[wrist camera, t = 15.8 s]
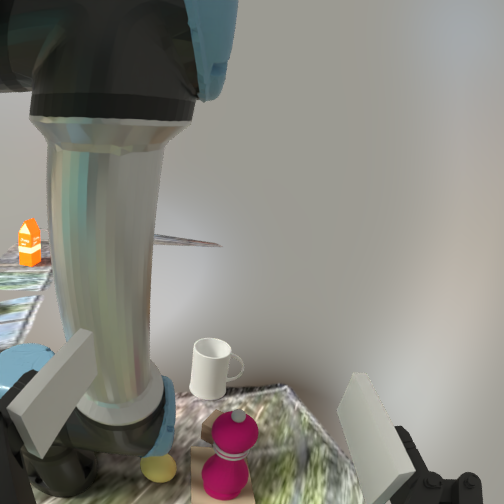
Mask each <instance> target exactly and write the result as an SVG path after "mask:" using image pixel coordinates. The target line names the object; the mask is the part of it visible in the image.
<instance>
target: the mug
mask: <svg viewBox="0 0 504 504" xmlns="http://www.w3.org/2000/svg"><path fill="white" fill-rule="evenodd" d="M230 358H234V359H237V360H238V361H240V363H241V364H242V370H241V372H240V373H239V374H238V375H237V376H235V377H231V378H228V377H227V375H228V369H229V363H230ZM243 372H244V363H243V361H242V359H241V358H240V357H238V356H237V355H235V354H233V353H231V347H230V346H229V344H227V343H226V342H224V341H222V340H220V339H216V338H203V339H200V340H198V341H196V342H195V344H194V349H193V361H192V374H191V382H190V387H189V388H190V391H191V392H192V394H193V395H195V396H196V397H198V398H200V399H203V400H217V399H220V398H221V397H223V396H224V395H225V393H226V382H231V381H234V380H236V379H238V378H239V377H240V376H241V375H242V374H243Z"/></svg>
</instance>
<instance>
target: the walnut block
mask: <svg viewBox="0 0 504 504" xmlns="http://www.w3.org/2000/svg"><path fill="white" fill-rule="evenodd" d="M221 414H223V412H221V411H219V410H217V409H216V410H215V411H214V412H213V413H212V414H211V415H210V416H209V417H208V418H207V419H206V420H205V421H204V422H203V423H202V431H201V439H202V440H204V441H206V442H208V443H210V444H212V445H213V443H214V440H213V438H212V434H211V430H212V426H213V423H214V421H215V420H216V419H217V418H218V416H220V415H221Z"/></svg>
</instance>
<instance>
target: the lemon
mask: <svg viewBox="0 0 504 504" xmlns="http://www.w3.org/2000/svg"><path fill="white" fill-rule="evenodd" d="M140 468H141V471H142V473H143V474H144V475H145V477H147V478H148V479H149V480H151V481H153V482H157V483H164V482H167V481H170V480H171V479H172V478H173V477H174V476H175V474H176V470H177V467H176V463H175V461H174V459H173V458H172V457H171V456H170V455H169V454H168V453H167V454H166V455H164V456H149V457H147V458H146V457H145V458H142V459H141V462H140Z"/></svg>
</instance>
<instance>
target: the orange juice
mask: <svg viewBox="0 0 504 504" xmlns="http://www.w3.org/2000/svg"><path fill="white" fill-rule="evenodd" d="M40 249H41V248H40V230H39V228H38V225H37V223H36V221H35V219H34V218H32V219H29V220H27V221H24V223H23V225H22V227H21V229H20V231H19V257H20V265H25V266H30V267H32V266H34V265H35V264H37V263H39V262H40V261H41V252H40Z"/></svg>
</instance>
